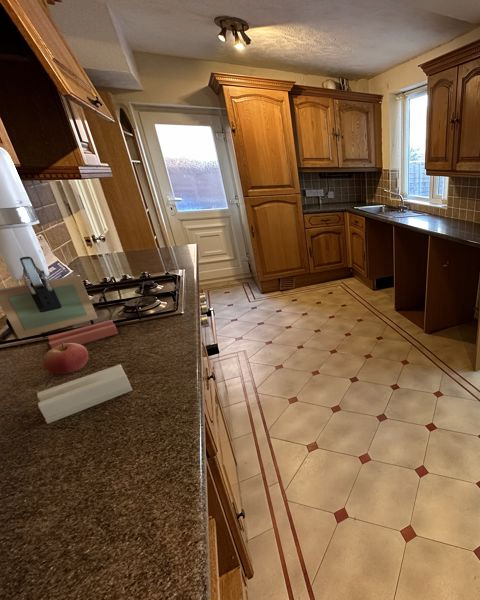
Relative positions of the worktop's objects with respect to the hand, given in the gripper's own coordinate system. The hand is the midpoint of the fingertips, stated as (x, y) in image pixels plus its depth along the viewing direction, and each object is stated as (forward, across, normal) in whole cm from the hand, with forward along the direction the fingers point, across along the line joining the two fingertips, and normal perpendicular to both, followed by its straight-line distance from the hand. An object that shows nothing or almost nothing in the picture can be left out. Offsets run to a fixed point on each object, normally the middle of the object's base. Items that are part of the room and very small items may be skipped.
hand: (50, 307), depth 66 cm
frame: (+5, 0, 0) cm, 5 cm away
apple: (+21, -14, -2) cm, 26 cm away
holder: (+21, +3, 0) cm, 21 cm away
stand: (+21, -30, +3) cm, 36 cm away
